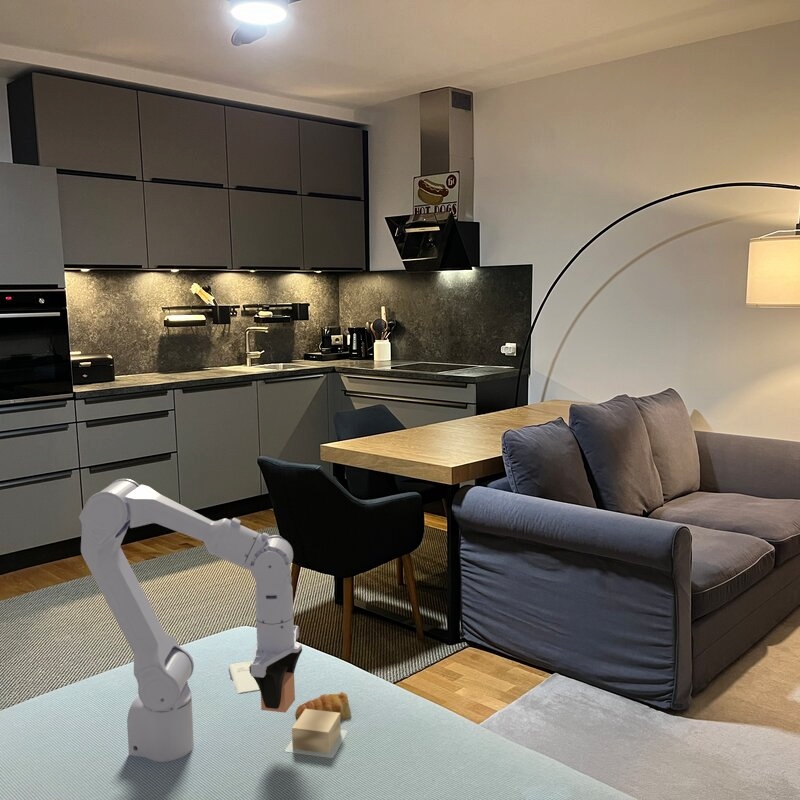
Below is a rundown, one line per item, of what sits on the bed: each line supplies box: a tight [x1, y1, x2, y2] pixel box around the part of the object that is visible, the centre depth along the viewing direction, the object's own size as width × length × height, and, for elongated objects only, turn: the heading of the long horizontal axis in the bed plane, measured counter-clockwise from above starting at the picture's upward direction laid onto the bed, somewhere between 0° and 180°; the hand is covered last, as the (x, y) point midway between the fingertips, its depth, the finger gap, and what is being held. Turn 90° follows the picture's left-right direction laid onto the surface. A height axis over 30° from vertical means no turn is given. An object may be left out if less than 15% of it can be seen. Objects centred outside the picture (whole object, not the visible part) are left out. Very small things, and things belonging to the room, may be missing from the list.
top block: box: [260, 672, 296, 714], centre depth 124 cm, size 4×4×4 cm
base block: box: [291, 709, 342, 753], centre depth 126 cm, size 6×6×4 cm
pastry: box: [294, 691, 352, 720], centre depth 135 cm, size 9×7×4 cm
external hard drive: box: [228, 660, 260, 695], centre depth 149 cm, size 2×8×12 cm
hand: (277, 699), depth 124 cm, fingers closed on top block, 4 cm apart
